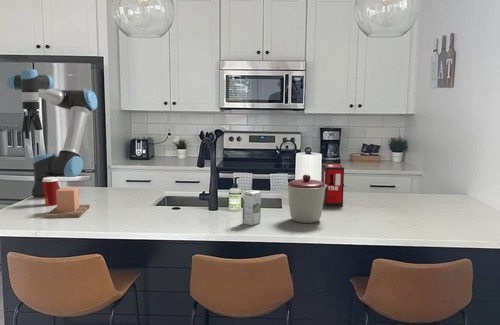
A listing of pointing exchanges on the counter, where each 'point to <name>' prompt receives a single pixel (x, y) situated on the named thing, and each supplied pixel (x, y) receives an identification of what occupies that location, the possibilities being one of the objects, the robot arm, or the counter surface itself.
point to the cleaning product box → (333, 183)
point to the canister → (306, 199)
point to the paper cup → (50, 190)
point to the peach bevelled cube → (67, 199)
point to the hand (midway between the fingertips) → (33, 144)
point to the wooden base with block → (68, 212)
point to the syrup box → (251, 207)
